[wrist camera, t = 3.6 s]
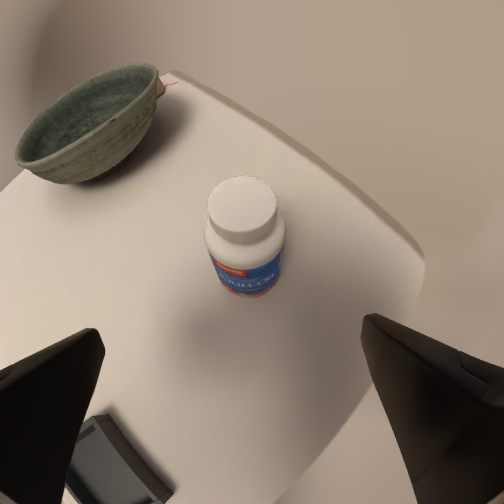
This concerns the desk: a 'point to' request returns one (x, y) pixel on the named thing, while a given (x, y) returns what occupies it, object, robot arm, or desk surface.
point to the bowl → (91, 126)
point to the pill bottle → (245, 235)
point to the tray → (111, 468)
